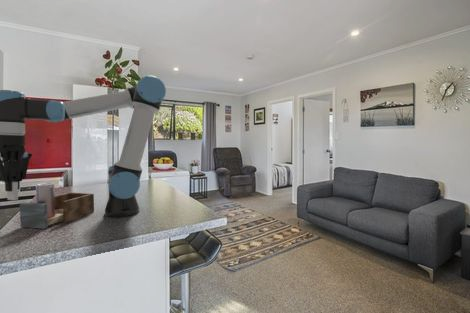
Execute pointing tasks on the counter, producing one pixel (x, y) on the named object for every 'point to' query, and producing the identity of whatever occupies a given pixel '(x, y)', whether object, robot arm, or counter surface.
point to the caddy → (74, 205)
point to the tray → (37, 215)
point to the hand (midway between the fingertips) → (12, 199)
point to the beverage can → (46, 197)
